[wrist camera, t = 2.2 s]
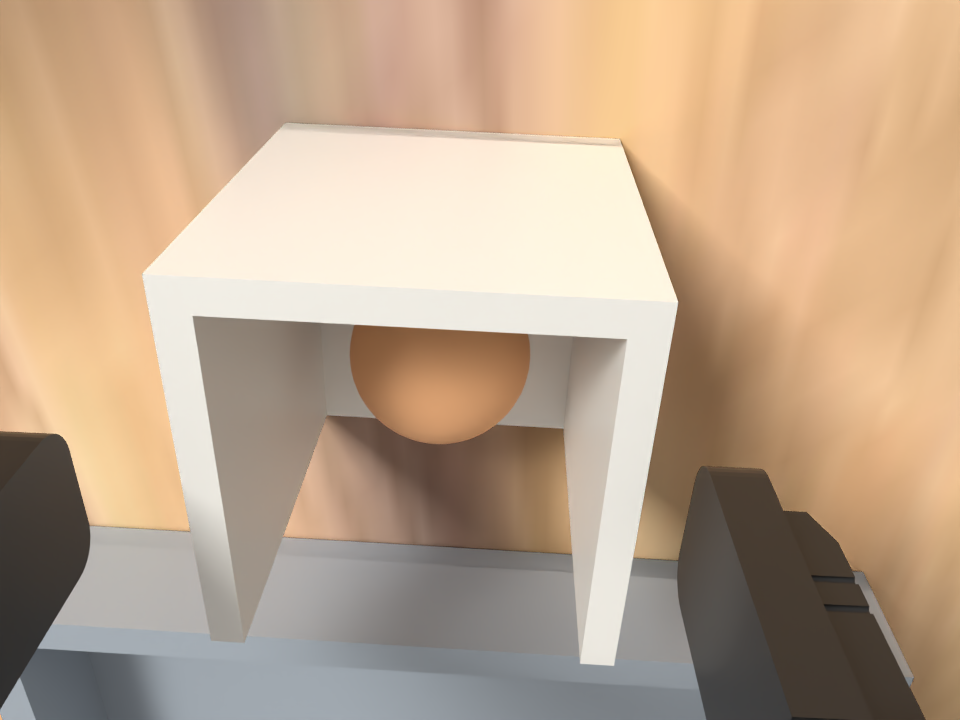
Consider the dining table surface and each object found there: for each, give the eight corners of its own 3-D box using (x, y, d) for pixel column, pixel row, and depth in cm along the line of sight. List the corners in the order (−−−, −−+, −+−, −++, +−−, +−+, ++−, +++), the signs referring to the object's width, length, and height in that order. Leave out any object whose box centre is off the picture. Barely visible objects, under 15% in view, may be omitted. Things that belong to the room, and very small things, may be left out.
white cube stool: (619, 139, 15) (678, 302, 9) (585, 416, 18) (614, 665, 12) (285, 122, 15) (142, 273, 9) (308, 401, 18) (211, 640, 12)
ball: (537, 230, 14) (534, 404, 13) (526, 323, 17) (523, 473, 15) (349, 222, 14) (325, 394, 13) (370, 316, 17) (351, 465, 15)
